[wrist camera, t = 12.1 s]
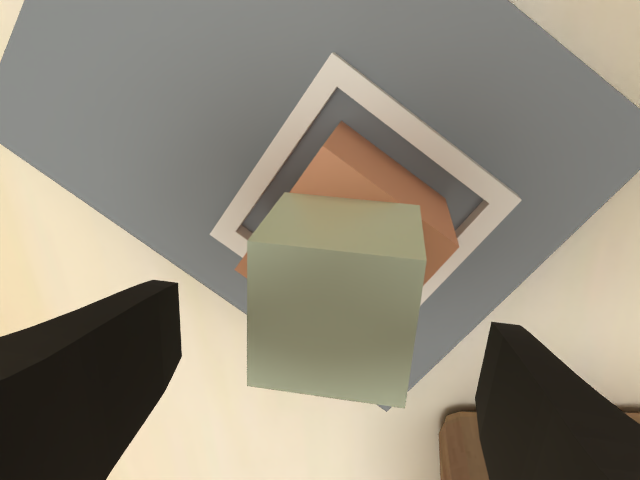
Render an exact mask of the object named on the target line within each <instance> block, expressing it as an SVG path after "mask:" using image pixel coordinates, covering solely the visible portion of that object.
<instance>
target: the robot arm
mask: <svg viewBox="0 0 640 480" xmlns="http://www.w3.org/2000/svg"><path fill="white" fill-rule="evenodd" d="M181 357H182V351H181V332H180V313H179V294H178V283H175V282H167V281H158V280H151V281H148V282H144V283H141V284H139V285H136V286H133V287H131V288H128V289H126V290H123V291H121V292H118V293H116V294H114V295H111V296H109V297H106V298H104V299H102V300H99V301H97V302H94V303H92V304H89V305H87V306H85V307H82V308H80V309H77V310H75V311H72V312H70V313H67V314H64V315H62V316H59V317H56V318H54V319H51V320H48V321H46V322H43V323H40V324H38V325H35V326H32V327H30V328H27V329H24V330H21V331H18V332H15V333H11V334H8V335H5V336H2V337H0V480H106V479H107V477H108V475H109V474H110V472H111V471H112V469H113V468H114V466H115V465H116V463H117V462H118V460H119V459H120V457H121V456H122V454H123V453H124V451H125V450H126V449H127V447H128V446H129V444H130V443H131V441H132V440H133V438H134V437H135V435H136V434H137V432H138V431H139V429H140V428H141V426H142V425H143V424H144V422H145V421H146V419H147V418H148V416H149V415H150V413H151V412H152V410H153V409H154V407H155V406H156V404H157V403H158V401H159V400H160V398H161V396H162V395H163V393H164V392H165V390H166V388H167V386H168V384H169V382H170V380H171V378H172V376H173V374H174V372H175V370H176V368H177V365H178V363H179V361H180V359H181ZM475 401H476V412H477V422H478V430H479V439H480V443H481V447H482V452H483V456H484V460H485V464H486V468H487V472H488V476H489V480H640V424H639V423H638V422H636V421H635V420H634V419H632V418H631V417H629V416H628V415H627V414H625V413H624V412H623V411H621V410H620V409H619V408H618V407H616V406H615V405H614V404H612V403H611V402H610V401H609V400H607V399H606V398H605V397H603V396H602V395H601V394H600V393H598V392H597V391H596V390H595V389H593V388H592V387H591V386H590V385H589V384H587V383H586V382H585V381H584V380H583V379H581V378H580V377H579V376H578V375H577V374H576V373H574V372H573V371H572V370H571V369H570V368H569V367H568V366H566V365H565V364H564V363H563V362H562V361H561V360H560V359H559V358H557V357H556V356H555V355H554V354H553V353H552V352H551V351H550V350H549V349H547V348H546V347H545V346H544V345H543V344H542V343H541V342H540V341H539V340H537V339H536V338H535V337H534V336H533V335H532V334H531V333H529V332H528V331H527V330H526V329H524V328H523V327H522V326H520V325H513V324H505V323H497V322H491V327H490V331H489V336H488V341H487V345H486V350H485V355H484V359H483V364H482V368H481V373H480V378H479V382H478V387H477V391H476V396H475Z"/></svg>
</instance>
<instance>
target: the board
mask: <svg viewBox="0 0 640 480" xmlns="http://www.w3.org/2000/svg"><path fill="white" fill-rule="evenodd" d="M341 121H343V122H344V123H345V124H347V125H348V126H349V127H351V128H352V129H353V130H355V131H356V132H357V133H359V134H360V135H361V136H363V137H364V138H365V139H367V140H368V141H369V142H371V143H372V144H373V145H375V146H376V147H377V148H379V149H380V150H381V151H383V152H384V153H385V154H387V155H388V156H389V157H391V158H392V159H393V160H395V161H396V162H397V163H399V164H400V165H401V166H403V167H404V168H405V169H407V170H408V171H409V172H411V173H412V174H413V175H415V176H416V177H417V178H419V179H420V180H421V181H423V182H424V183H425V184H427V185H428V186H429V187H431V188H432V189H433V190H435V191H436V192H437V193H439V194H440V195H441V196H443V197H444V198H445V199H446V203H447V206H448V209H449V213H450V216H451V220H452V223H453V226H454V230H455V233H456V237H457V240H458V243H459V248H458V249H457V250H456V251H455V252H454V253H453V254H452V256H451V257H450V258H449V259H448V260H447V261H446V262H445V263H444V264H443V265H442V266H441V267H440V268H439V270H438V271H437V272H436V273H435V274H434V275H433V276H432V277H431V278H430V279H429V280H428V281H427V282H426V284H425V285H424V286H423V289H422V296H421V303H420V309H419V316H418V323H417V330H416V336H415V343H414V350H413V357H412V364H411V370H410V377H409V384H408V391H409V390H410V389H411V388H412V387H413V386H414V385H415V384H416V383H417V382H418V381H419V380H420V379H422V378H423V377H424V376H425V375H426V374H427V373H428V372H429V371H430V370H431V369H432V368H433V367H434V366H435V365H436V364H437V363H438V362H439V361H440V360H441V359H442V358H443V357H445V356H446V355H447V354H448V353H449V352H450V351H451V350H452V349H453V348H454V347H455V346H456V345H457V344H458V343H459V342H460V341H461V340H462V339H463V338H464V337H465V336H467V335H468V334H469V333H470V332H471V331H472V330H473V329H474V328H475V327H476V326H477V325H478V324H479V323H480V322H481V321H482V320H483V319H484V318H485V317H486V316H487V315H489V314H490V313H491V312H492V311H493V310H494V309H495V308H496V307H497V306H498V305H499V304H500V303H501V302H502V301H503V300H504V299H505V298H506V297H507V296H508V295H509V294H511V293H512V292H513V291H514V290H515V289H516V288H517V287H518V286H519V285H520V284H521V283H522V282H523V281H524V280H525V279H526V278H527V277H528V276H529V275H530V274H531V273H532V272H534V271H535V270H536V269H537V268H538V267H539V266H540V265H541V264H542V263H543V262H544V261H545V260H546V259H547V258H548V257H549V256H550V255H551V254H552V253H553V252H554V251H556V250H557V249H558V248H559V247H560V246H561V245H562V244H563V243H564V242H565V241H566V240H567V239H568V238H569V237H570V236H571V235H572V234H573V233H574V232H575V231H576V230H578V229H579V228H580V227H581V226H582V225H583V224H584V223H585V222H586V221H587V220H588V219H589V218H590V217H591V216H592V215H593V214H594V213H595V212H596V211H597V210H598V209H600V208H601V207H602V206H603V205H604V204H605V203H606V202H607V201H608V200H609V199H610V198H611V197H612V196H613V195H614V194H615V193H616V192H617V191H618V190H619V189H620V188H622V187H623V186H624V185H625V184H626V183H627V182H628V181H629V180H630V179H631V178H632V177H633V176H634V175H635V174H636V173H637V172H638V171H639V170H640V109H639V108H638V107H637V106H636V105H634V104H633V103H632V102H631V101H629V100H628V99H627V98H626V97H625V96H623V95H622V94H621V93H620V92H619V91H617V90H616V89H615V88H614V87H613V86H611V85H610V84H609V83H608V82H606V81H605V80H604V79H603V78H602V77H600V76H599V75H598V74H597V73H596V72H594V71H593V70H592V69H591V68H590V67H588V66H587V65H586V64H585V63H583V62H582V61H581V60H580V59H579V58H577V57H576V56H575V55H574V54H573V53H571V52H570V51H569V50H568V49H567V48H565V47H564V46H563V45H562V44H560V43H559V42H558V41H557V40H556V39H554V38H553V37H552V36H551V35H550V34H548V33H547V32H546V31H545V30H544V29H542V28H541V27H540V26H539V25H537V24H536V23H535V22H534V21H533V20H531V19H530V18H529V17H528V16H527V15H525V14H524V13H523V12H522V11H521V10H519V9H518V8H517V7H516V6H514V5H513V4H512V3H511V2H510V1H508V0H24V3H23V6H22V8H21V11H20V13H19V16H18V18H17V21H16V24H15V26H14V29H13V31H12V34H11V36H10V39H9V42H8V44H7V47H6V49H5V52H4V54H3V57H2V60H1V62H0V144H1V145H3V146H4V147H6V148H7V149H9V150H10V151H12V152H13V153H14V154H16V155H17V156H19V157H20V158H22V159H23V160H25V161H26V162H27V163H29V164H30V165H32V166H33V167H35V168H36V169H37V170H39V171H40V172H42V173H43V174H45V175H46V176H48V177H49V178H50V179H52V180H53V181H55V182H56V183H58V184H59V185H61V186H62V187H63V188H65V189H66V190H68V191H69V192H71V193H72V194H74V195H75V196H76V197H78V198H79V199H81V200H82V201H84V202H85V203H87V204H88V205H89V206H91V207H92V208H94V209H95V210H97V211H98V212H100V213H101V214H102V215H104V216H105V217H107V218H108V219H110V220H111V221H112V222H114V223H115V224H117V225H118V226H120V227H121V228H123V229H124V230H125V231H127V232H128V233H130V234H131V235H133V236H134V237H136V238H137V239H138V240H140V241H141V242H143V243H144V244H146V245H147V246H149V247H150V248H151V249H153V250H154V251H156V252H157V253H159V254H160V255H162V256H163V257H164V258H166V259H167V260H169V261H170V262H172V263H173V264H175V265H176V266H177V267H179V268H180V269H182V270H183V271H185V272H186V273H187V274H189V275H190V276H192V277H193V278H195V279H196V280H198V281H199V282H200V283H202V284H203V285H205V286H206V287H208V288H209V289H211V290H212V291H213V292H215V293H216V294H218V295H219V296H221V297H222V298H224V299H225V300H226V301H228V302H229V303H231V304H232V305H234V306H235V307H237V308H238V309H239V310H241V311H242V312H244V313H245V314H247V278H245V277H244V276H243V275H241V274H240V273H238V272H237V271H235V270H234V269H235V268H236V267H237V265H238V264H239V262H240V261H241V260H242V258H243V257H244V255H245V254H246V253H247V241H248V239H249V238H250V237H251V235H252V234H253V233H254V231H255V230H256V229H257V227H258V226H259V225H260V224H261V222H262V221H263V220H264V218H265V217H266V216H267V214H268V213H269V212H270V210H271V209H272V208H273V207H274V205H275V204H276V203H277V201H278V200H279V199H280V197H281V196H282V195H283V194H284V192H288V193H289V192H290V191H291V189H292V188H293V187H294V185H295V184H296V182H297V181H298V180H299V178H300V177H301V175H302V174H303V173H304V171H305V170H306V168H307V167H308V166H309V164H310V163H311V161H312V160H313V159H314V157H315V156H316V154H317V153H318V152H319V150H320V149H321V147H322V146H323V145H324V143H325V142H326V141H327V139H328V138H329V137H330V135H331V134H332V132H333V131H334V130H335V128H336V127H337V126H338V124H339V123H340V122H341ZM408 391H407V392H408ZM376 405H377V404H376ZM378 406H379V407H381V408H382V409H384V410H385V411H386V412H387V411H388V410H389V409H390V408H391V406H384V405H378Z"/></svg>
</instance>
